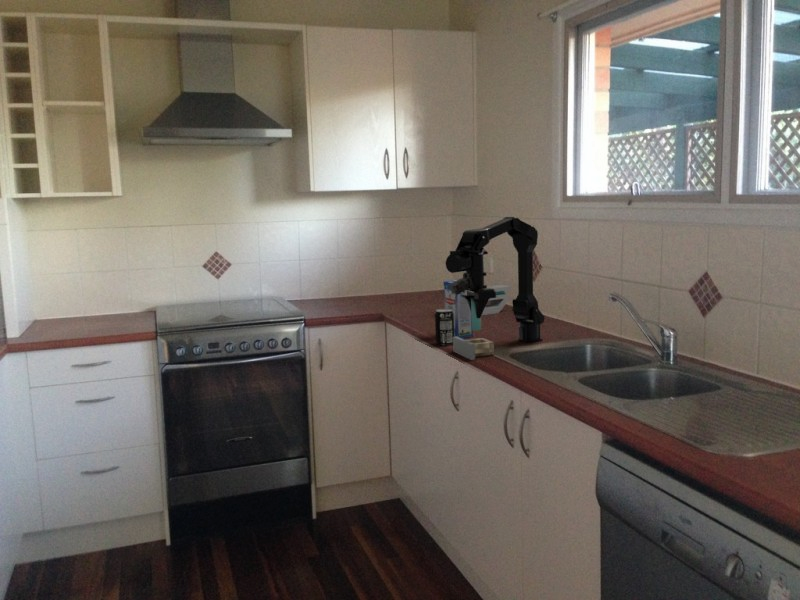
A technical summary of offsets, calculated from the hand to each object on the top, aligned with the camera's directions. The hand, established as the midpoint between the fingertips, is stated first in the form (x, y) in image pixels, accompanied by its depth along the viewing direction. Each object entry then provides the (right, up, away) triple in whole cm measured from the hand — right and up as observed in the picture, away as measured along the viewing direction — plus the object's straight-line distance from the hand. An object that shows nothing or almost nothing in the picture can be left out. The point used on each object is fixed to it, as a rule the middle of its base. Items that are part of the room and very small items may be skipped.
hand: (476, 317), depth 235 cm
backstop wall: (-4, -12, 0) cm, 13 cm away
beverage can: (-9, -10, +20) cm, 24 cm away
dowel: (0, -4, +1) cm, 4 cm away
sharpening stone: (+11, 0, +79) cm, 80 cm away
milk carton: (-3, -8, +33) cm, 34 cm away
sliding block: (+1, -12, +2) cm, 12 cm away
